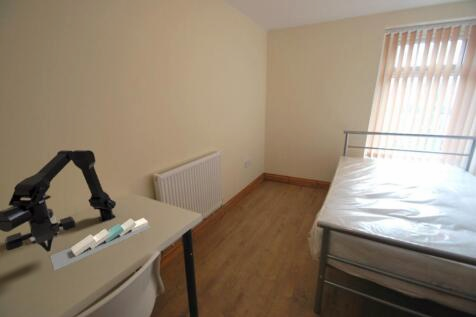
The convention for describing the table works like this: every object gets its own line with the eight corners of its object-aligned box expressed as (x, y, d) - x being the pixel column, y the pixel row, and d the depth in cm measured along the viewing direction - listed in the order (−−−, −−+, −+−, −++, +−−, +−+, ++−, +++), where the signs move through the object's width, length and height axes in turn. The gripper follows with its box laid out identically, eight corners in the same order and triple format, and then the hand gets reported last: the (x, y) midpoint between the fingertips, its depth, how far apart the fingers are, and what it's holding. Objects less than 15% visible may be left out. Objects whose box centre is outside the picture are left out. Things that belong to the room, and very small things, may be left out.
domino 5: (131, 228, 100) (147, 221, 105) (127, 224, 103) (143, 217, 108) (131, 231, 100) (148, 224, 106) (127, 227, 103) (143, 220, 109)
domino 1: (73, 253, 84) (94, 239, 88) (70, 247, 87) (91, 233, 92) (76, 256, 85) (96, 241, 89) (73, 250, 88) (93, 236, 93)
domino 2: (89, 246, 88) (108, 233, 92) (86, 241, 91) (105, 228, 96) (92, 249, 89) (110, 235, 93) (89, 243, 92) (107, 231, 96)
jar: (48, 241, 94) (41, 218, 90) (29, 242, 93) (21, 218, 90) (63, 229, 102) (57, 207, 99) (46, 229, 102) (39, 208, 98)
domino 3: (104, 240, 92) (122, 227, 96) (101, 235, 95) (118, 223, 99) (106, 243, 92) (124, 230, 97) (103, 238, 96) (120, 226, 100)
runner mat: (50, 256, 85) (50, 255, 85) (141, 219, 111) (141, 218, 111) (54, 271, 78) (54, 270, 78) (151, 227, 104) (151, 227, 104)
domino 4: (118, 234, 96) (134, 222, 100) (115, 229, 99) (130, 218, 103) (120, 236, 97) (136, 224, 101) (117, 232, 100) (132, 220, 104)
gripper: (-1, 236, 63) (14, 277, 68) (74, 212, 77) (83, 248, 81) (-1, 222, 71) (13, 260, 75) (68, 202, 84) (76, 236, 88)
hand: (48, 250), depth 80 cm, fingers closed
